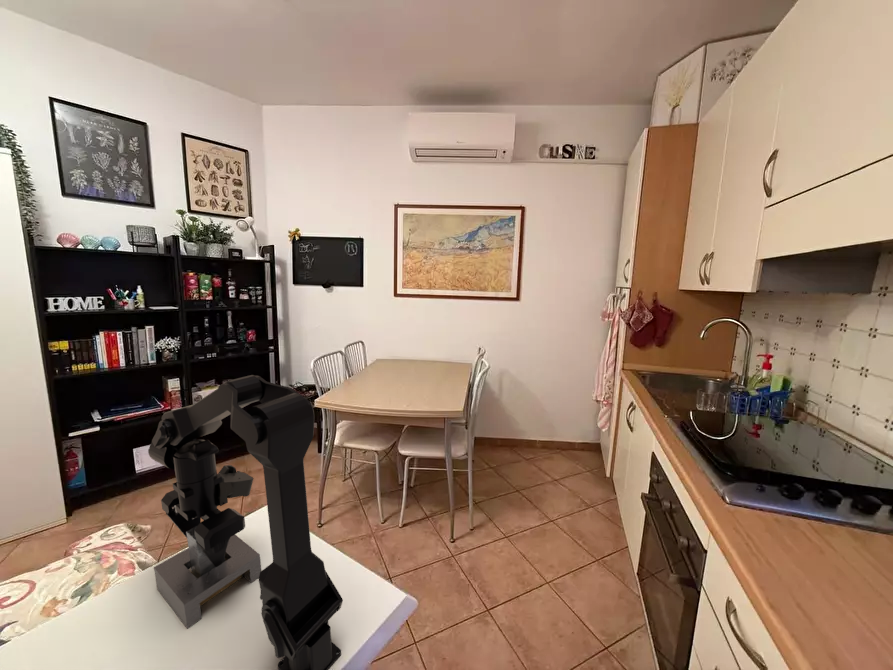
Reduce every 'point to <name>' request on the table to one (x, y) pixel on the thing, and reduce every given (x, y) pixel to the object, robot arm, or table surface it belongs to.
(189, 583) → the slotted bridge-shaped block
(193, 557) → the tall square pillar
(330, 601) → the robot arm
